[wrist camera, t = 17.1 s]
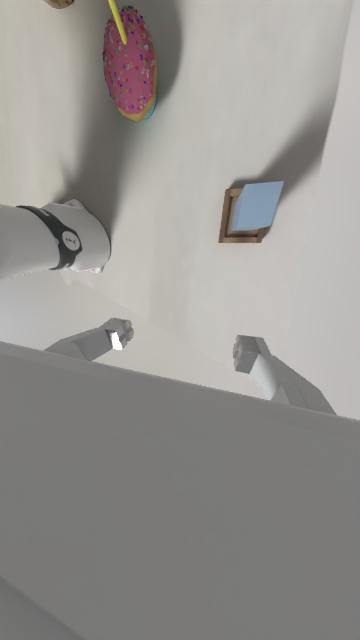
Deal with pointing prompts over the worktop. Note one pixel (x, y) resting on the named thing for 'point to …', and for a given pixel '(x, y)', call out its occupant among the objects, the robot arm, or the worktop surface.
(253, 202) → the slate block
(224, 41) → the worktop surface
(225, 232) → the walnut base
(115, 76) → the cupcake
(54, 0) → the bagel
